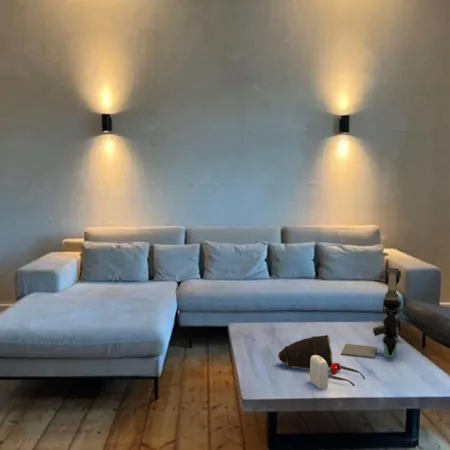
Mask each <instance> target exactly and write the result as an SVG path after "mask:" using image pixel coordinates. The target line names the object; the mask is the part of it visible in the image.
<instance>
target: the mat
mask: <svg viewBox="0 0 450 450" xmlns="http://www.w3.org/2000/svg"><path fill="white" fill-rule="evenodd" d="M377 351H378V346H370V345H363V344H362V345H361V344H354V343H353V344H352V343H344V346H343V348H342V350H341V353H340V355H341V356H345V357H346V356H347V357H354V358H355V357H356V358H365V359H374V360H375V358H376V355H377Z"/></svg>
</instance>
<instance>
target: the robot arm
mask: <svg viewBox="0 0 450 450" xmlns="http://www.w3.org/2000/svg"><path fill="white" fill-rule="evenodd" d="M383 272H384V273H383V274H384V278H385V282H386V283H387V292H386V293H385V294H384V298H383V300H382V301H383V307H382V312H383V313H384V315H385V316H384V318H383V325H379V326H375V327H373V328H372V332H373V334H374V336H375V337H378V336H379V335H383V338H382V343H383V344H384V343H385V344H386V345H387V348H388V353H389V355H391V354H392V352H393V350H394V348H395V346H396V344H397V345H398V342H399V341H398V340H399V337H398V336H399V332H400V331H402V322H401V319H399V318H400V317H399V314H400V312H401V311H402V301H401V299H399V294H398V292H397V285H398V284H399V282H400V279H401V278H402V270H399V268H396V267H395V268H393V267H387V268H386V269H385V270H384V271H383Z"/></svg>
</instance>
